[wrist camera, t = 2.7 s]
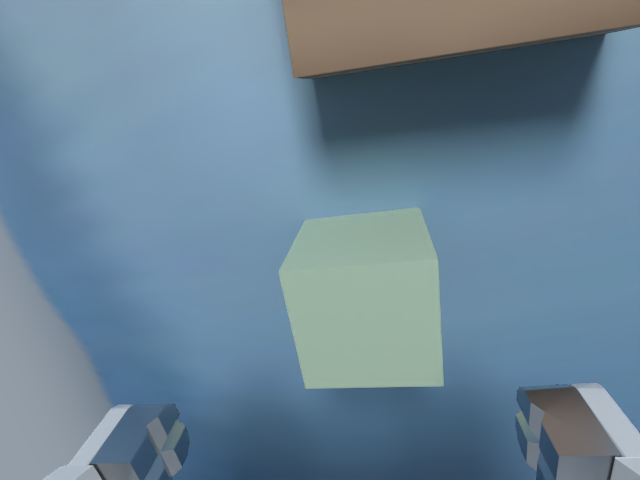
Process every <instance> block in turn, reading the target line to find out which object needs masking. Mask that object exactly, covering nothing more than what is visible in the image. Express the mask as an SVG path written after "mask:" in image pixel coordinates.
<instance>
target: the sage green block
mask: <svg viewBox="0 0 640 480" xmlns="http://www.w3.org/2000/svg"><path fill="white" fill-rule="evenodd" d="M279 277H280V281H281V285H282V289H283V294H284V298H285V302H286V307H287V311H288V315H289V319H290V324H291V328H292V332H293V337H294V341H295V345H296V350H297V354H298V358H299V362H300V367H301V371H302V375H303V380H304V384H305V388H306V389H315V388H371V387H427V386H444V381H443V359H442V337H441V315H440V293H439V271H438V258H437V255H436V252H435V249H434V246H433V244H432V241H431V238H430V235H429V232H428V230H427V227H426V224H425V221H424V218H423V215H422V213H421V210H420V207H418V208H409V209H400V210H391V211H382V212H372V213H363V214H354V215H345V216H336V217H327V218H318V219H309V220H305V221H304V223H303V225H302V227H301V229H300V231H299V233H298V235H297V237H296V239H295V240H294V242H293V244H292V246H291V248H290V250H289V252H288V254H287V256H286V258H285V260H284V262H283V264H282V266H281V268H280V270H279Z"/></svg>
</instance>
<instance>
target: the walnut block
mask: <svg viewBox="0 0 640 480" xmlns="http://www.w3.org/2000/svg"><path fill="white" fill-rule="evenodd" d="M282 2H283V9H284V16H285V22H286V29H287V36H288V42H289V49H290V56H291V62H292V69H293V76H294V78H304V79H315V78H322V77H328V76H335V75H341V74H348V73H354V72H361V71H367V70H374V69H380V68H387V67H393V66H400V65H406V64H413V63H419V62H426V61H432V60H439V59H445V58H452V57H458V56H465V55H471V54H478V53H484V52H491V51H497V50H504V49H510V48H517V47H523V46H530V45H536V44H543V43H549V42H556V41H562V40H569V39H575V38H582V37H588V36H595V35H601V34H607V33H612V32H617V31H622V30H627V29H631V28H636V27H640V0H282Z"/></svg>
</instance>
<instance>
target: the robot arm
mask: <svg viewBox="0 0 640 480" xmlns="http://www.w3.org/2000/svg"><path fill="white" fill-rule="evenodd" d="M517 402H518V404H519V406H520V409H521V410H520V411H519V412H518V413H517V414H516V432H517V437H518V442H519V445H520V448H521V451H522V453H523V456H524V458H525V461H526V463H527V464H529V465H530V466H531V467H532V468H533V469H535V470H536V471H537V473H536V480H640V433H639V432H638V430H637V429H636V428H635V427H634V425H633V424H632V423H631V421H630V420H629V419H628V418H627V416H626V415H625V414H624V413H623V411H622V410H621V409H620V408H619V406H618V405H617V404H616V403H615V401H614V400H613V399H612V398H611V396H610V395H609V394H608V393H607V391H606V390H605V389H604V387H603V386H601V385H599V384H598V383H585V384H570V385H568V384H563V385H545V386H528V387H519V389H518V391H517ZM179 414H180V413H179V411H178V409H177V407H176V405H175V404H170V403H161V404H121V405H116V406H115V407H113V408H111V409H110V410H109V412H108V413H107V414H106V416H105V417H104V419H103V420H102V421H101V422H100V424H99V425H98V427H96V429H95V430H94V431H93V433H92V434H91V435H90V437H89V438H88V439H87V441H86V442H85V443H84V444H83V446H82V447H81V448H80V450H79V451H78V452H77V454H76V455H75V456H74V458H73V459H72V461H70V463H69V464H68V465H65V466H64V465H63V466H61V467H59V468H58V469H56V470H55V471H54V472H52V473H51V474H49V475H48V476H47V477H45V478H44V479H42V480H173V479H172V476H173V475H174V474H175V473H176V472H178V471H179V470H180V469H181V468H182V466H183V464H184V462H185V460H186V457H187V454H188V448H189V443H190V442H189V434H188V431H187V429H186V426H185V425H183V424H182V423H181V422H179V421H178V420H177V419H178V417H179Z"/></svg>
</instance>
